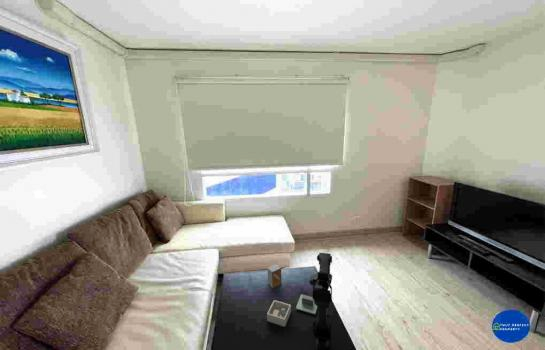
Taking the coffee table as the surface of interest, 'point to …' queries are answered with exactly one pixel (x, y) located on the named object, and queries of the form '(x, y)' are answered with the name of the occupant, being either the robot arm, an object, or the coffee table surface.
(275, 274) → the small box
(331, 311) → the coffee table surface
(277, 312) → the storage box
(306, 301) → the lid
